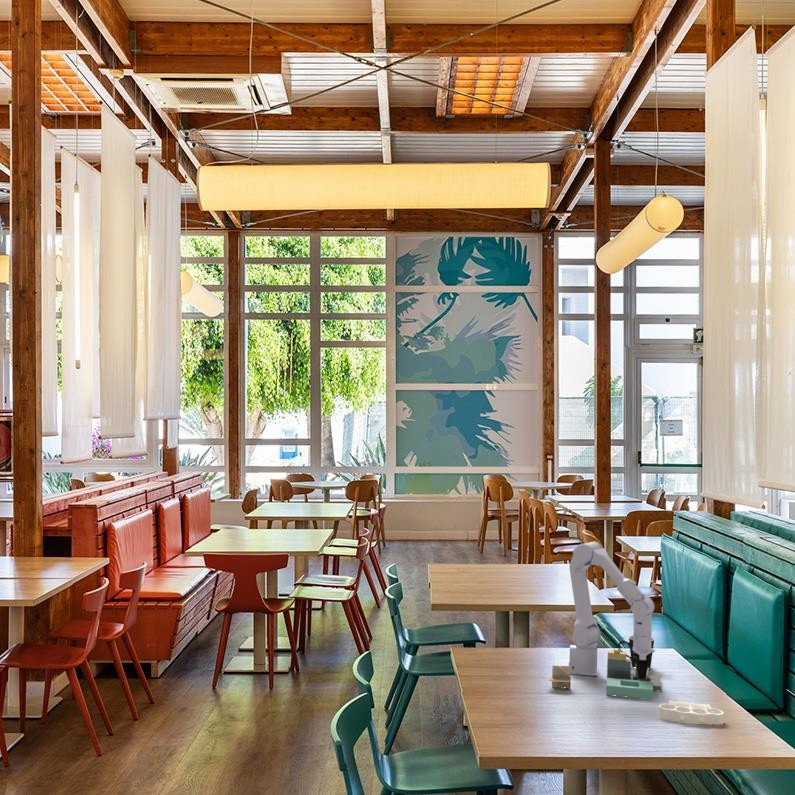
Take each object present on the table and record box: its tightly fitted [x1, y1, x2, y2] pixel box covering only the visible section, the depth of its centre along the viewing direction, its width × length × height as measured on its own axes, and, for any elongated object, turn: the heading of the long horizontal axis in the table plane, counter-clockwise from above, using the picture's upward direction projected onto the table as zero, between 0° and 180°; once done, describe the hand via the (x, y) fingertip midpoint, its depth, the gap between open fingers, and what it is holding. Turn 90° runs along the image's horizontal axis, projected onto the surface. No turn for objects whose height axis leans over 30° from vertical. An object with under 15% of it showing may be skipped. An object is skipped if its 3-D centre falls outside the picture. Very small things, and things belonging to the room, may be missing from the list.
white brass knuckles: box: [658, 700, 725, 725], centre depth 260 cm, size 3×18×15 cm
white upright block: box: [634, 666, 649, 681], centre depth 292 cm, size 4×4×7 cm
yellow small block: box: [607, 648, 628, 660], centre depth 294 cm, size 6×2×3 cm, turn 76°
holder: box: [606, 677, 654, 700], centre depth 281 cm, size 14×9×3 cm, turn 76°
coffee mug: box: [617, 635, 655, 669], centre depth 313 cm, size 12×9×10 cm
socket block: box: [606, 657, 663, 692], centre depth 292 cm, size 17×12×7 cm
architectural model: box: [548, 665, 572, 690], centre depth 284 cm, size 3×7×7 cm, turn 86°
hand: (641, 676), depth 292 cm, fingers closed on white upright block, 4 cm apart
